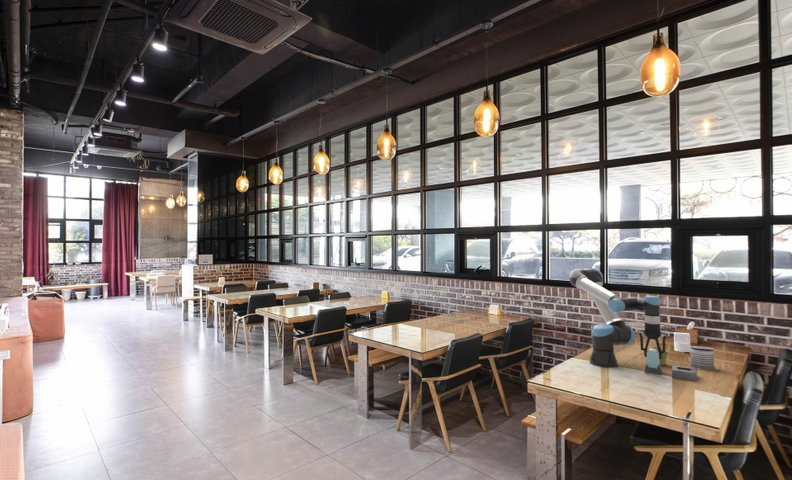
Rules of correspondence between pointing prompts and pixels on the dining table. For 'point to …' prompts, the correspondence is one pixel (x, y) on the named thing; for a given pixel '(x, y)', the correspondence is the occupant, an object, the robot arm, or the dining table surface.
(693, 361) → the can
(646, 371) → the holster
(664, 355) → the plant pot
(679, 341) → the cylinder with rectangular tab
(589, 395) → the dining table surface
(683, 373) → the port block
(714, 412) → the dining table surface
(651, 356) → the plug
